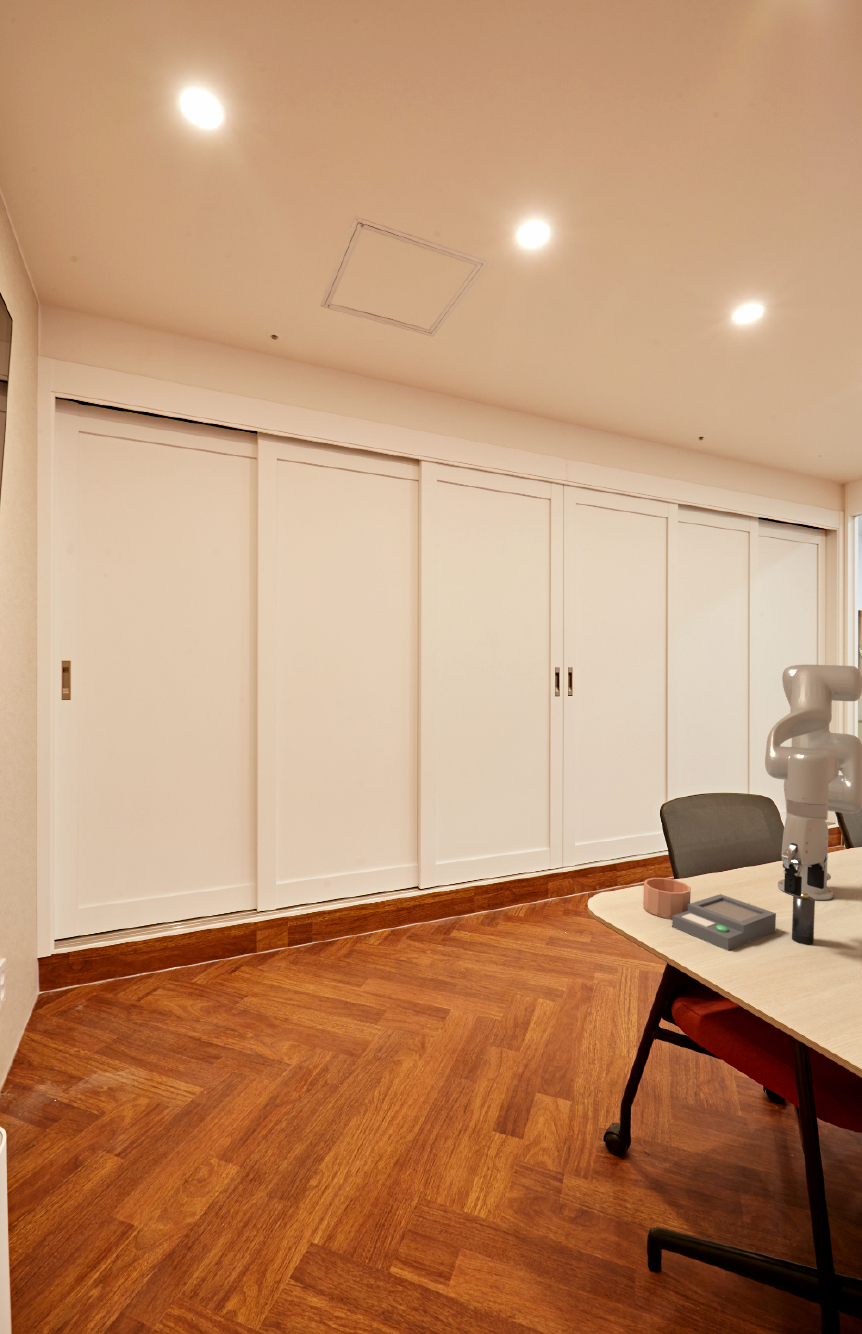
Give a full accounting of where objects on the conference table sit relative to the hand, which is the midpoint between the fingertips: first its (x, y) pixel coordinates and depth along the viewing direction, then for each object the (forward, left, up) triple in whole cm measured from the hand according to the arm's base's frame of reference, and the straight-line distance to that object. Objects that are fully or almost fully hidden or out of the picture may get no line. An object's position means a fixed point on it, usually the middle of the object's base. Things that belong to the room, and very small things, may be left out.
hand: (804, 890), depth 131 cm
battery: (-1, 0, -11) cm, 11 cm away
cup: (+11, -25, -11) cm, 30 cm away
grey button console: (+9, -12, -11) cm, 19 cm away
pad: (+6, -12, -8) cm, 16 cm away
